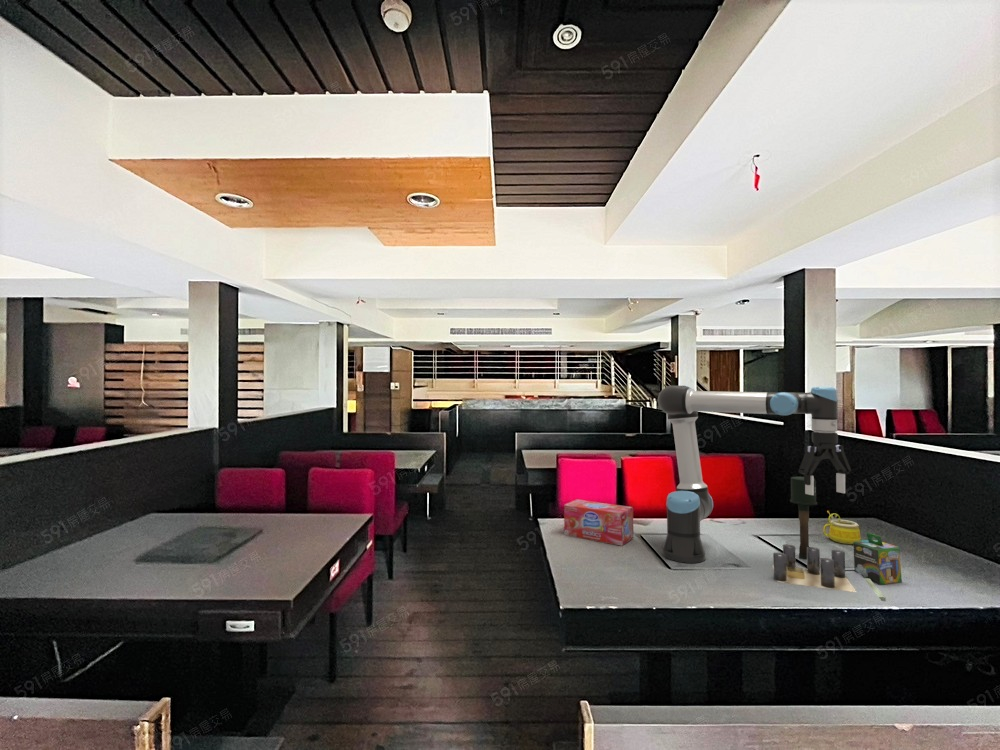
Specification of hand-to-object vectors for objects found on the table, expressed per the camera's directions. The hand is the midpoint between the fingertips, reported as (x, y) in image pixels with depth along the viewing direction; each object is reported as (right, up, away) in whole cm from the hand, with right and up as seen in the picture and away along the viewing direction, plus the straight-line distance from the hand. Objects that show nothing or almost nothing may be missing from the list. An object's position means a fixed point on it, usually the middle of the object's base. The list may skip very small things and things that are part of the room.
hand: (825, 493), depth 168 cm
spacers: (-11, -25, -9) cm, 29 cm away
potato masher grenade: (0, -28, +11) cm, 30 cm away
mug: (+30, -28, +34) cm, 54 cm away
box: (-70, -29, +41) cm, 86 cm away
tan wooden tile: (-15, -25, -7) cm, 30 cm away
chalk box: (+13, -27, -6) cm, 31 cm away
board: (-7, -27, -11) cm, 29 cm away
